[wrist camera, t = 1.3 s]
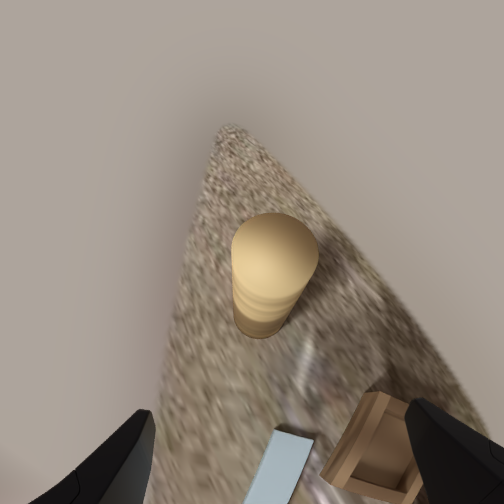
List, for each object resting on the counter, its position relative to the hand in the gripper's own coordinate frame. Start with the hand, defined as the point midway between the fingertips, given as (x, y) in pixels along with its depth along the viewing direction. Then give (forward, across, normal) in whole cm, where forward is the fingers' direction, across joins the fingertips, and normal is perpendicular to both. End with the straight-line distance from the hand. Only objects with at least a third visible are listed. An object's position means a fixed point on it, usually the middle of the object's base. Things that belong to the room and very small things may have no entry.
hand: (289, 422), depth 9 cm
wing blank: (+4, -1, +14) cm, 15 cm away
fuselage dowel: (+14, 0, +4) cm, 15 cm away
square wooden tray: (+6, -10, +12) cm, 17 cm away
